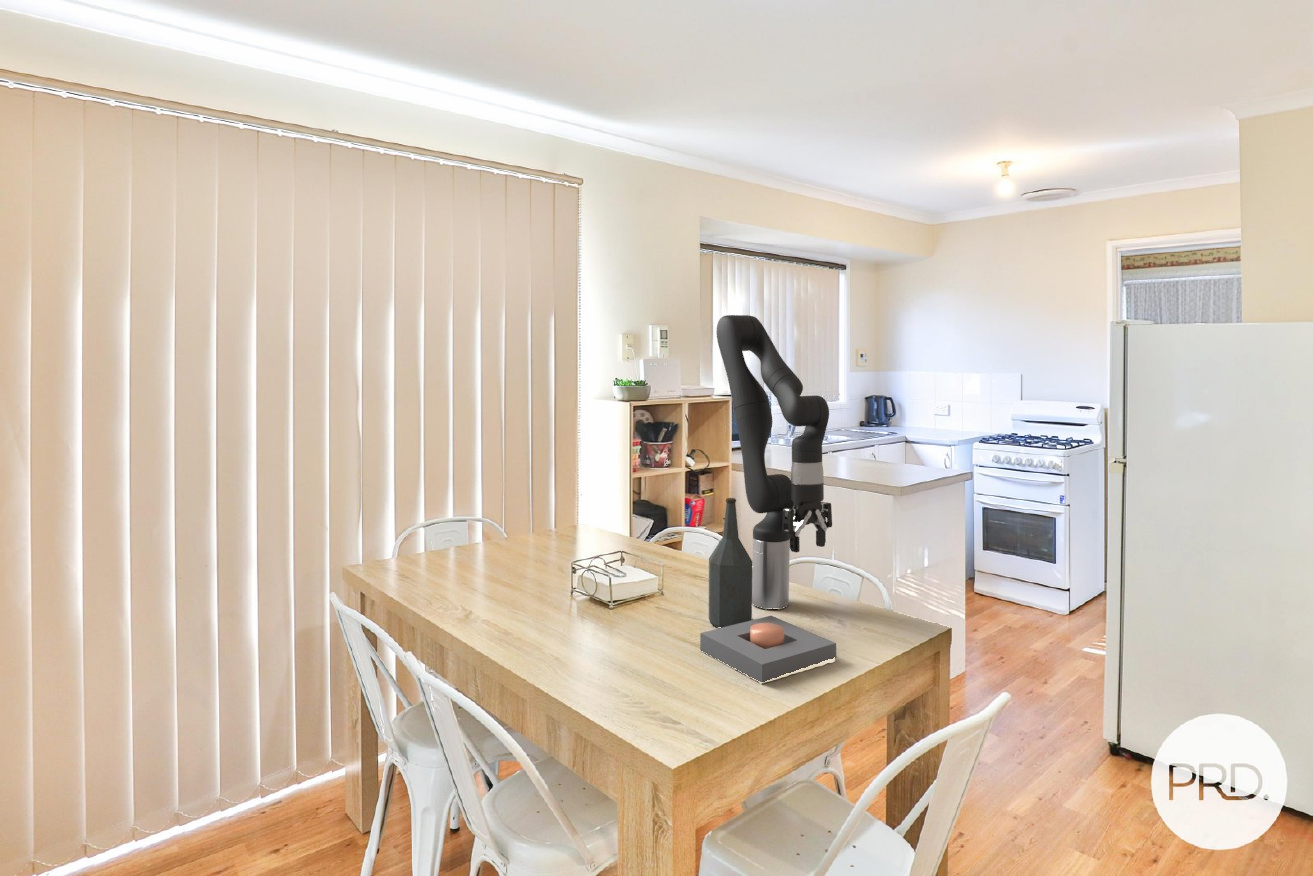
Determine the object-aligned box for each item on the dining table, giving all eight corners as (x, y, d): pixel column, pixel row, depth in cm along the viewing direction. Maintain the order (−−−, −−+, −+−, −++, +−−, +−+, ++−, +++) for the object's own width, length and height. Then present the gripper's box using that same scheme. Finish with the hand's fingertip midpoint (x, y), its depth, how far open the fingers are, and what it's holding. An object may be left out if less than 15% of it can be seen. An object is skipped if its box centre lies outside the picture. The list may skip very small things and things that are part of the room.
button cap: (743, 645, 160) (743, 627, 159) (768, 638, 164) (768, 620, 163) (765, 656, 154) (765, 637, 153) (790, 649, 158) (791, 630, 157)
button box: (700, 651, 162) (700, 633, 161) (771, 632, 173) (771, 615, 172) (761, 684, 145) (762, 664, 145) (835, 661, 156) (836, 643, 156)
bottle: (754, 618, 182) (756, 495, 179) (748, 632, 173) (749, 503, 170) (712, 614, 185) (713, 493, 182) (704, 628, 176) (704, 501, 172)
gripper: (816, 476, 184) (816, 542, 186) (773, 482, 176) (774, 550, 177) (840, 479, 178) (840, 547, 180) (797, 485, 170) (798, 556, 171)
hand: (807, 549), depth 179 cm, fingers open, 8 cm apart
